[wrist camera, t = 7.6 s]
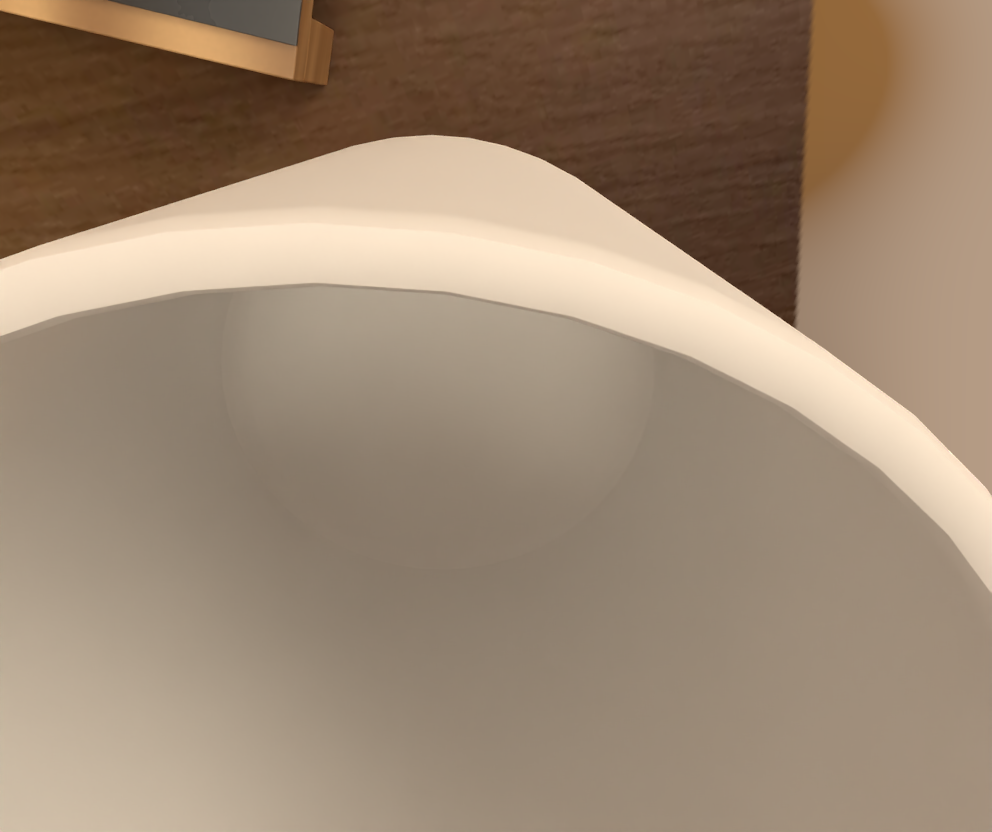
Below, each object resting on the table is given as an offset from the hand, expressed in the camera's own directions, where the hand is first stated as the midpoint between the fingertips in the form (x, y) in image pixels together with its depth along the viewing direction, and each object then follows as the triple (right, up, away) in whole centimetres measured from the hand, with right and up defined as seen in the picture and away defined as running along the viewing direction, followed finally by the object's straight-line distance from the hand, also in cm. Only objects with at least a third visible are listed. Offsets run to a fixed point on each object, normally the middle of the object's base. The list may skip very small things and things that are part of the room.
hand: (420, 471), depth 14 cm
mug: (0, 0, +1) cm, 1 cm away
